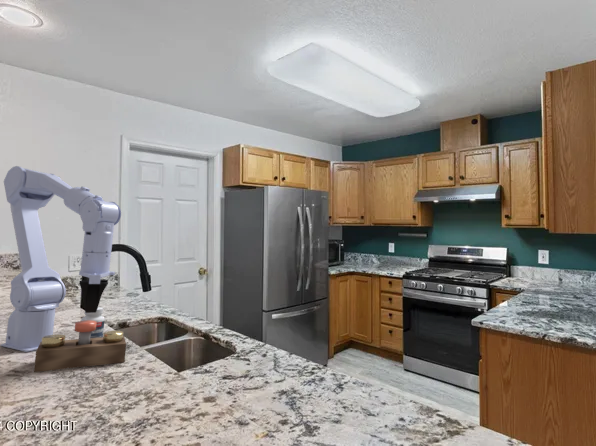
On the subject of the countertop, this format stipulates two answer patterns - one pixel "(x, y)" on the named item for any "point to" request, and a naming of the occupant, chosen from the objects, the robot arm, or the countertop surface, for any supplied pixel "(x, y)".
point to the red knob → (85, 331)
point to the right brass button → (112, 336)
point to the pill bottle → (100, 322)
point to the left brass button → (53, 341)
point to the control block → (79, 354)
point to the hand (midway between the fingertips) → (90, 312)
